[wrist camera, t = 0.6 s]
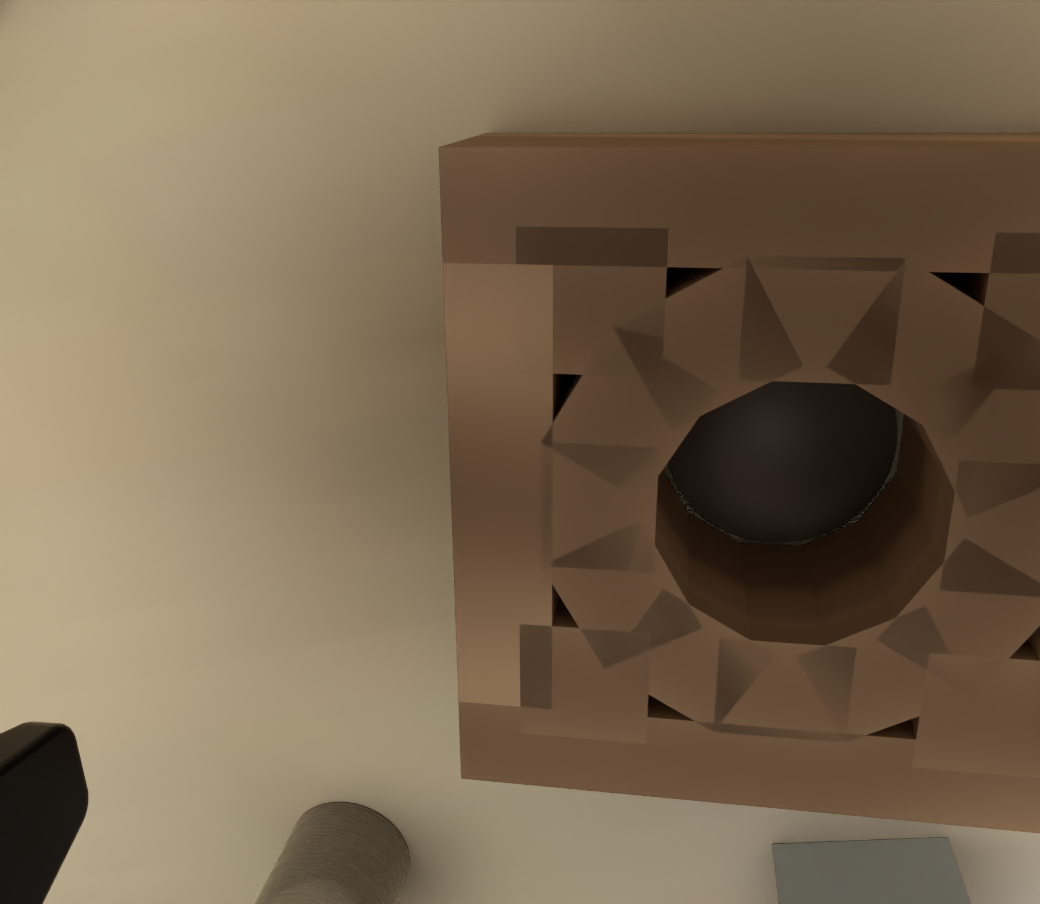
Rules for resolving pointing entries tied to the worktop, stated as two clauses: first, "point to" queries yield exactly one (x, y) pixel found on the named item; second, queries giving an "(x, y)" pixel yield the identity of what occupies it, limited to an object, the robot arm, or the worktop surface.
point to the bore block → (748, 467)
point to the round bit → (339, 859)
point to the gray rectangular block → (869, 872)
